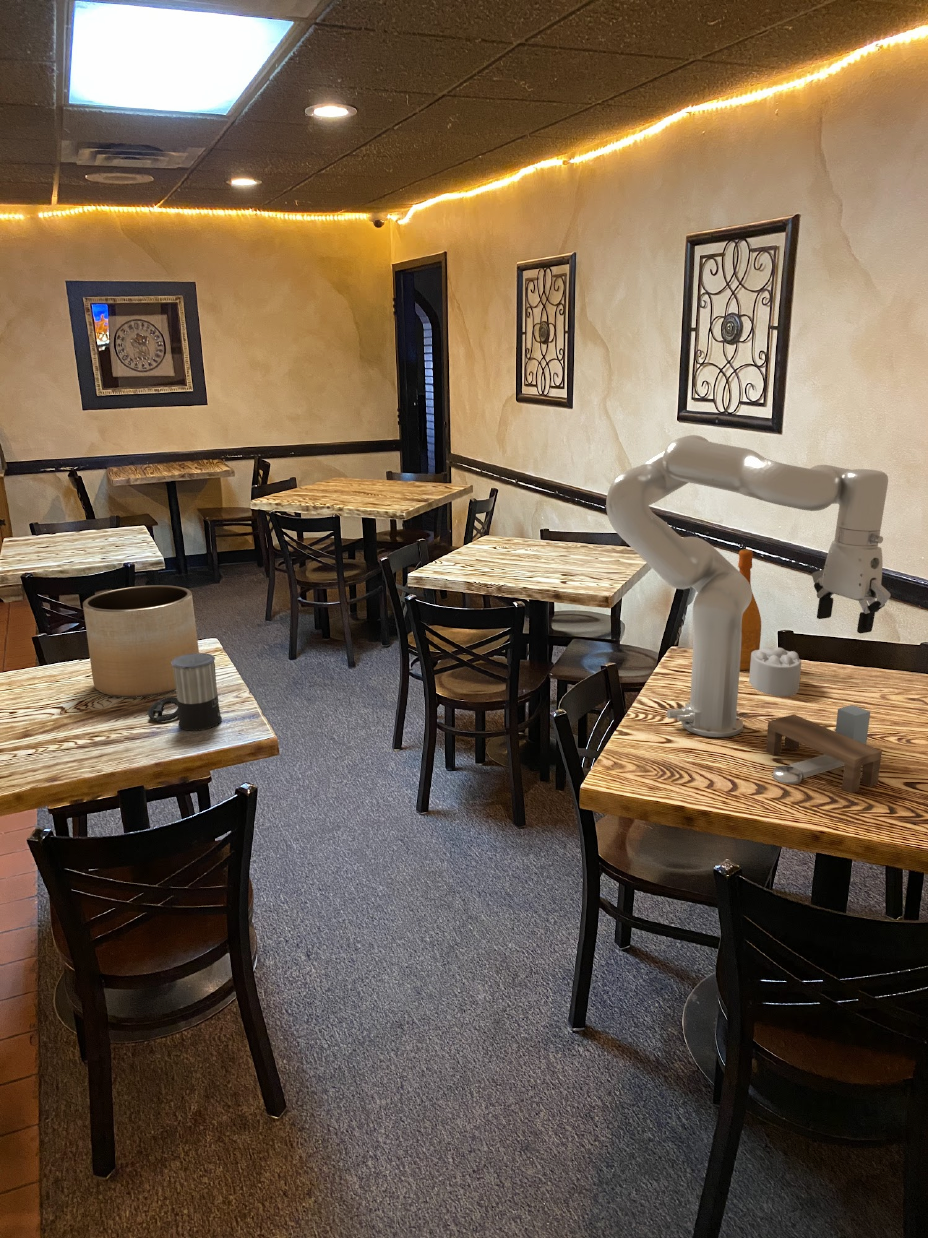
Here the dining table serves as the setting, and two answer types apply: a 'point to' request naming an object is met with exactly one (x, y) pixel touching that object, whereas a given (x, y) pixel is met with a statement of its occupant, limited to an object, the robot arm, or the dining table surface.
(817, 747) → the stand
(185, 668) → the milk frother
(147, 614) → the beige ceramic crock
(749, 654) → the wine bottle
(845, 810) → the dining table surface
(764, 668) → the lumpy-topped squat cylinder
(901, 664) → the dining table surface
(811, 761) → the grey block
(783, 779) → the token
